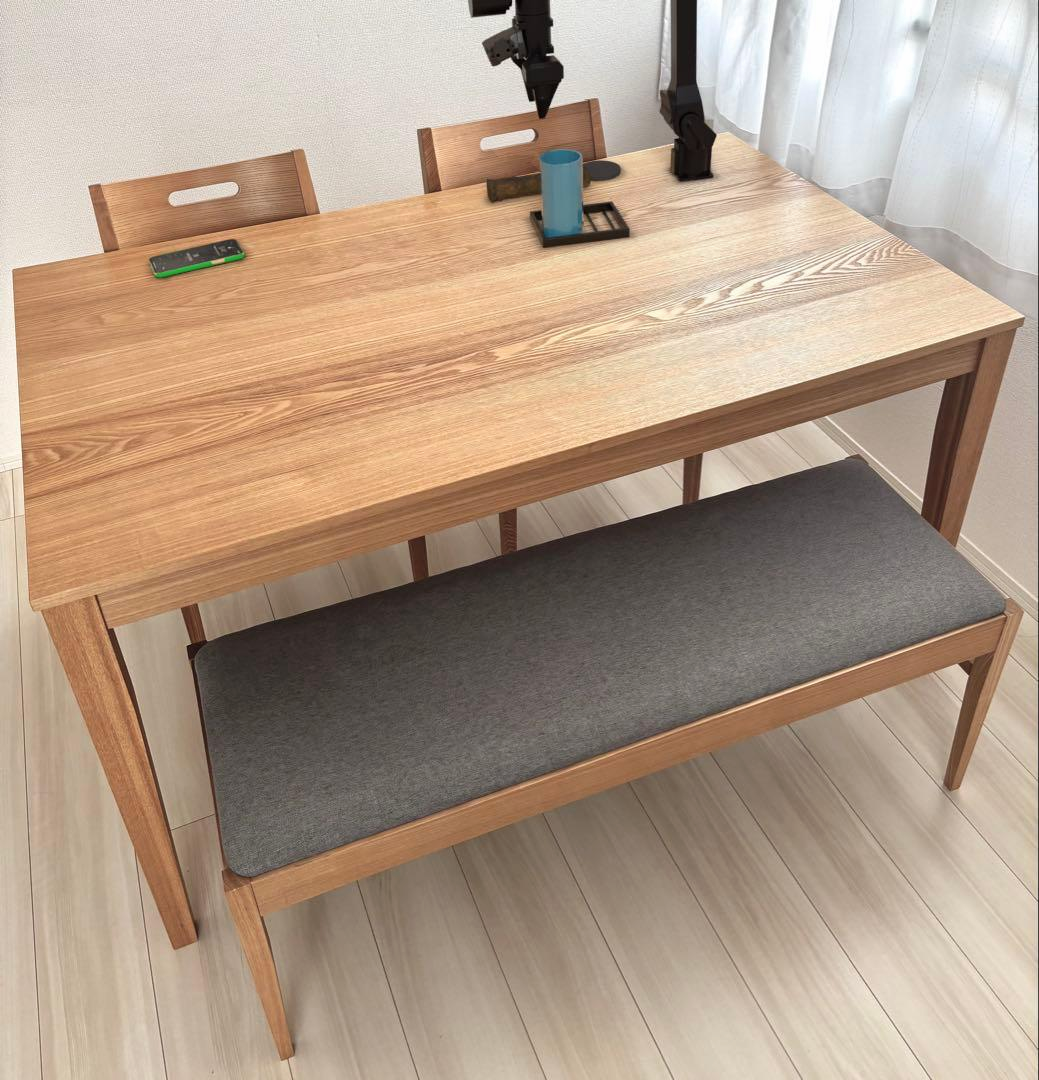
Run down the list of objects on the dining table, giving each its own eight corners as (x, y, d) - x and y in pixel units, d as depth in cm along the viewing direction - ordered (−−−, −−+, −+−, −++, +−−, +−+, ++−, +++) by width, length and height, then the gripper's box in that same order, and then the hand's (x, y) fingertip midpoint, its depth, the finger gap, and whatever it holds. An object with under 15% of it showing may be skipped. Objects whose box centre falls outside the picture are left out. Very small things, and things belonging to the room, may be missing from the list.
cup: (578, 223, 179) (577, 147, 171) (587, 239, 174) (586, 161, 165) (539, 228, 178) (536, 151, 170) (547, 245, 173) (544, 167, 165)
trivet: (614, 162, 199) (614, 158, 199) (625, 177, 193) (625, 173, 193) (573, 167, 198) (573, 163, 198) (582, 183, 192) (582, 178, 192)
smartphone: (146, 256, 176) (235, 236, 180) (148, 262, 176) (236, 242, 180) (154, 274, 170) (245, 253, 174) (156, 280, 171) (246, 258, 175)
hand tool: (490, 205, 187) (488, 180, 184) (486, 197, 190) (484, 171, 187) (593, 192, 189) (593, 167, 186) (588, 184, 192) (587, 159, 189)
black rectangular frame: (612, 209, 183) (612, 201, 182) (629, 237, 174) (629, 228, 173) (530, 219, 181) (529, 211, 180) (543, 248, 172) (542, 239, 171)
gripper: (475, 2, 177) (482, 98, 187) (493, 31, 163) (499, 133, 173) (540, -5, 178) (543, 91, 188) (563, 23, 164) (565, 125, 174)
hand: (536, 109), depth 181 cm, fingers open, 9 cm apart
